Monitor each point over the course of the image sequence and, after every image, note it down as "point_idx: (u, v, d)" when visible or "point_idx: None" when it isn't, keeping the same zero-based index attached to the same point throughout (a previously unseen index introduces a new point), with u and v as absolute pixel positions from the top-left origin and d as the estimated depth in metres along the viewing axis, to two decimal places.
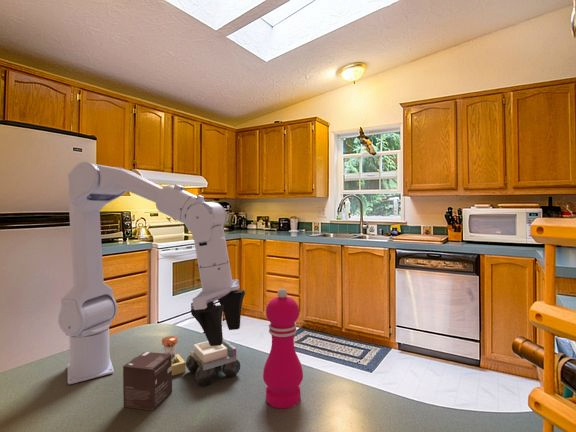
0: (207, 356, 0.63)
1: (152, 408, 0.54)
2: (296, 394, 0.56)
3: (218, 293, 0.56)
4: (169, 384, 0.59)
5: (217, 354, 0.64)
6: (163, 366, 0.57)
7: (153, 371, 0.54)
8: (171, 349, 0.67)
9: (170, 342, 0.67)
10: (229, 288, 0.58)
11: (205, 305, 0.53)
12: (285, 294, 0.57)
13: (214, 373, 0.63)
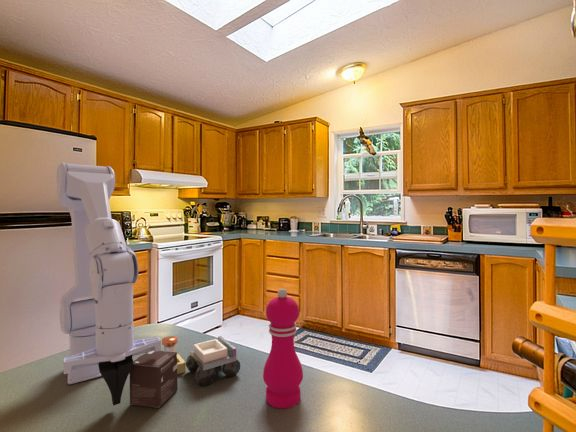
0: (207, 356, 0.63)
1: (158, 405, 0.55)
2: (296, 394, 0.56)
3: (91, 360, 0.51)
4: (174, 382, 0.59)
5: (217, 354, 0.64)
6: (169, 364, 0.58)
7: (159, 369, 0.55)
8: (171, 349, 0.67)
9: (170, 342, 0.67)
10: (109, 357, 0.51)
11: (67, 370, 0.50)
12: (285, 294, 0.57)
13: (214, 373, 0.63)
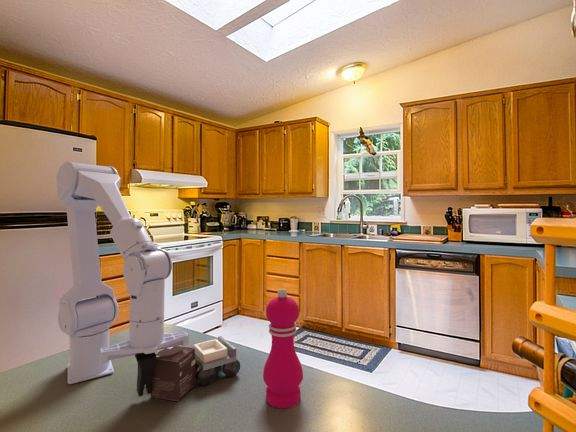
0: (207, 356, 0.63)
1: (177, 399, 0.57)
2: (296, 394, 0.56)
3: (126, 351, 0.54)
4: (192, 377, 0.61)
5: (217, 354, 0.64)
6: (187, 359, 0.60)
7: (178, 363, 0.57)
8: None
9: None
10: (143, 349, 0.55)
11: (104, 360, 0.53)
12: (285, 294, 0.57)
13: (214, 373, 0.63)
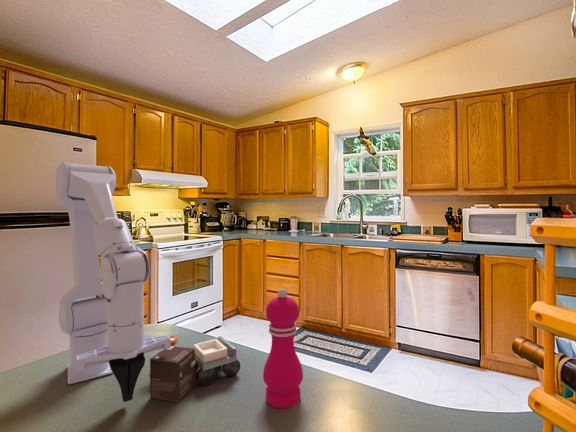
0: (207, 356, 0.63)
1: (177, 400, 0.57)
2: (296, 394, 0.56)
3: (103, 357, 0.52)
4: (192, 377, 0.61)
5: (217, 354, 0.64)
6: (188, 360, 0.60)
7: (178, 364, 0.57)
8: None
9: None
10: (121, 354, 0.53)
11: (80, 367, 0.51)
12: (285, 294, 0.57)
13: (214, 373, 0.63)
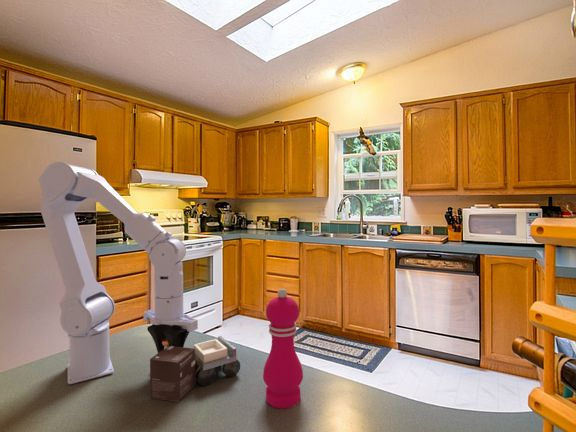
0: (207, 356, 0.63)
1: (177, 400, 0.57)
2: (296, 394, 0.56)
3: (150, 317, 0.68)
4: (192, 377, 0.61)
5: (217, 354, 0.64)
6: (188, 360, 0.60)
7: (178, 364, 0.57)
8: None
9: None
10: None
11: (144, 318, 0.70)
12: (285, 294, 0.57)
13: (214, 373, 0.63)
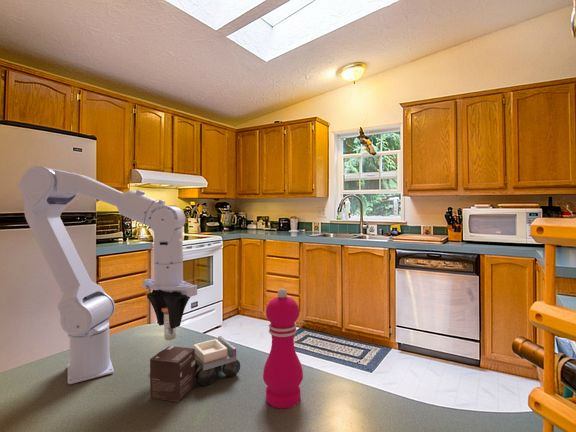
0: (207, 356, 0.63)
1: (177, 400, 0.57)
2: (296, 394, 0.56)
3: (149, 284, 0.68)
4: (192, 377, 0.61)
5: (217, 354, 0.64)
6: (188, 360, 0.60)
7: (178, 364, 0.57)
8: None
9: None
10: None
11: (144, 286, 0.70)
12: (285, 294, 0.57)
13: (214, 373, 0.63)
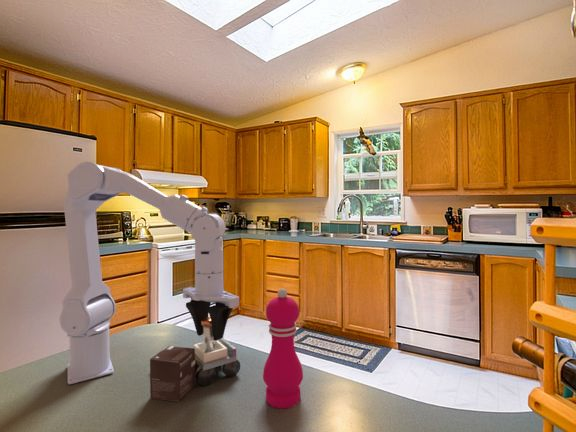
0: (207, 356, 0.63)
1: (177, 400, 0.57)
2: (296, 394, 0.56)
3: (190, 293, 0.67)
4: (192, 377, 0.61)
5: (217, 354, 0.64)
6: (188, 360, 0.60)
7: (178, 364, 0.57)
8: (210, 329, 0.65)
9: (209, 322, 0.65)
10: None
11: (184, 295, 0.69)
12: (285, 294, 0.57)
13: (214, 373, 0.63)
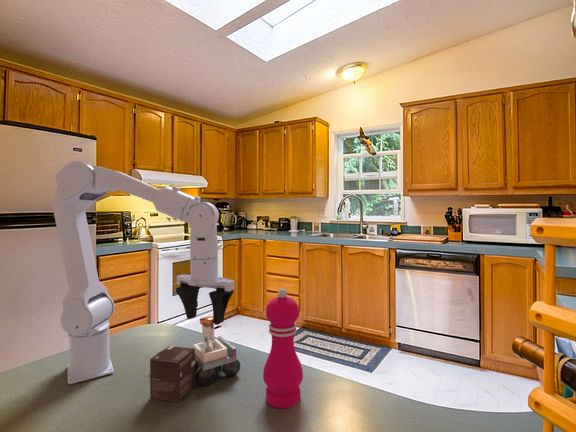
0: (207, 356, 0.63)
1: (177, 400, 0.57)
2: (296, 394, 0.56)
3: (185, 279, 0.69)
4: (192, 377, 0.61)
5: (217, 354, 0.64)
6: (188, 360, 0.60)
7: (178, 364, 0.57)
8: (209, 328, 0.66)
9: (208, 321, 0.65)
10: None
11: (177, 282, 0.71)
12: (285, 294, 0.57)
13: (214, 373, 0.63)
